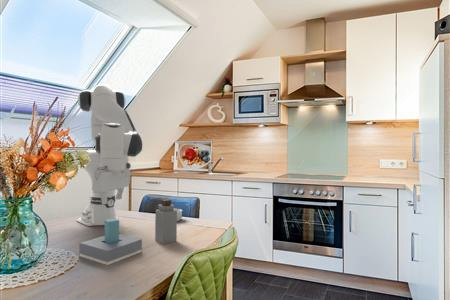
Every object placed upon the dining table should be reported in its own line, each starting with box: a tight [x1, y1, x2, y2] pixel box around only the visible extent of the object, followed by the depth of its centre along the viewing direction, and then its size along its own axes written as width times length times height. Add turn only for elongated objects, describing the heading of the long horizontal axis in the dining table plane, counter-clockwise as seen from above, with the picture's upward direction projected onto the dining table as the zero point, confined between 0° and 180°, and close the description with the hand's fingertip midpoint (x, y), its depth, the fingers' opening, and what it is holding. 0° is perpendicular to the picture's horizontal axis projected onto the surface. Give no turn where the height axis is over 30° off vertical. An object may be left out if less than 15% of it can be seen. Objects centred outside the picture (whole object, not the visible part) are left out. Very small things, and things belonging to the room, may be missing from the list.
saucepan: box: [174, 208, 183, 222], centre depth 177 cm, size 12×20×6 cm, turn 7°
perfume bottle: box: [154, 198, 178, 245], centre depth 135 cm, size 7×7×18 cm
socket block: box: [79, 233, 143, 266], centre depth 118 cm, size 16×16×5 cm
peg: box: [104, 218, 120, 244], centre depth 118 cm, size 4×4×12 cm
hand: (112, 201), depth 118 cm, fingers open, 8 cm apart
